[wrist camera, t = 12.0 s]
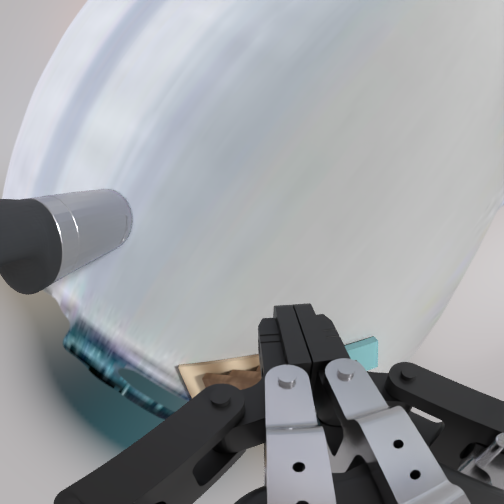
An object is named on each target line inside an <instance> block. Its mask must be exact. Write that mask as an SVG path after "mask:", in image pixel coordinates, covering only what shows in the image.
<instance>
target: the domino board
mask: <svg viewBox="0 0 504 504" xmlns="http://www.w3.org/2000/svg"><path fill="white" fill-rule="evenodd" d="M259 365H260V363H259V354H256V355H250V356H244V357H238V358H231V359H224V360H217V361H209V362H201V363H192V364H183V365H179V367H178V368H179V370H180V373H181V375H182V377H183V380H184V382H185V384H186V386H187V389H188V391H189V393H190V395H191V397H192V398H193V397H195V396H196V395H197V394H198V393H200V392H201V391H202V390H203V389H205V385H204V383H203V380H202V378H203V376H204V375H205V374H206V373H212V374H220V375H229V373H230V372H231V371H232V369H233V370H244V371H256V370H257V368H258V367H259Z"/></svg>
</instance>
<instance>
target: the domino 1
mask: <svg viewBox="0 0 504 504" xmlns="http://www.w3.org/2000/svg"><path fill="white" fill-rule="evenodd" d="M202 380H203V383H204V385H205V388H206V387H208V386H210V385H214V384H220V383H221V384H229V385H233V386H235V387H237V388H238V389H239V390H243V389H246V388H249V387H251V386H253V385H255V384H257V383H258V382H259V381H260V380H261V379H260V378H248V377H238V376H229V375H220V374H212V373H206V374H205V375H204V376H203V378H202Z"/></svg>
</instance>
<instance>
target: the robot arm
mask: <svg viewBox="0 0 504 504" xmlns="http://www.w3.org/2000/svg"><path fill="white" fill-rule="evenodd" d="M131 228H132V214H131V210H130V207H129V205H128V203H127V201H126V200H125V198H124V197H123V196H122V195H121V194H120V193H118V192H116V191H114V190H110V189H101V190H90V191H81V192H72V193H64V194H56V195H49V196H42V197H36V198H30V199H21V200H13V199H0V274H1V276H2V277H3V279H4V280H5V281H6V283H7V284H8V285H9V286H10V287H11V288H13V289H14V290H16V291H17V292H19V293H22V294H34V293H37V292H39V291H41V290H43V289H44V288H46V287H48V286H49V285H51V284H52V283H54V282H56V281H58V280H59V279H61V278H63V277H64V276H66V275H68V274H69V273H71V272H73V271H75V270H77V269H78V268H80V267H82V266H84V265H86V264H87V263H89V262H91V261H93V260H95V259H97V258H98V257H100V256H102V255H104V254H106V253H108V252H110V251H112V250H114V249H116V248H117V247H119V246H121V245H122V244H123V243H124V242H125V241H126V240H127V238H128V236H129V234H130V231H131ZM258 351H259V363H260V370H261V380H260V381H259V382H258V383H257V384H255V385H253V386H251V387H249V388H246V389H243V390H239V389H238V388H237V387H235V386H233V385H229V384H221V383H220V384H214V385H210V386H208V387H206V388H205V389H203V390H202V391H201V392H200V393H198V394H197V395H196V396H195V397H193V398H192V399H191V400H190V401H189V402H187V403H186V404H185V405H184V406H182V407H181V408H180V409H179V410H178V411H176V412H175V413H174V414H172V415H171V416H170V417H168V418H167V419H166V420H165V421H163V422H162V423H161V424H159V425H158V426H157V427H155V428H154V429H153V430H151V431H150V432H149V433H148V434H146V435H145V436H143V437H142V438H141V439H139V440H138V441H137V442H135V443H134V444H132V445H131V446H130V447H128V448H127V449H125V450H124V451H123V452H121V453H120V454H118V455H117V456H116V457H114V458H112V459H111V460H110V461H108V462H107V463H105V464H104V465H102V466H101V467H99V468H98V469H96V470H95V471H93V472H91V473H90V474H88V475H87V476H85V477H84V478H82V479H80V480H79V481H77V482H76V483H74V484H72V485H71V486H69V487H68V488H66V489H64V490H63V491H61V492H60V493H59V494H58V495H57V496H56V498H55V500H54V504H193V503H194V502H195V501H196V500H197V499H198V498H199V497H200V496H201V495H202V494H204V493H205V492H206V491H207V490H208V489H209V488H210V487H211V486H212V485H213V484H214V483H215V482H216V481H217V480H218V479H219V478H220V477H221V476H222V475H223V474H224V473H225V472H226V471H227V470H228V469H229V468H230V467H231V466H232V465H233V464H234V463H235V462H236V461H237V460H238V459H239V458H240V457H241V456H242V455H243V453H244V452H245V451H246V449H248V448H251V447H254V446H257V445H260V444H262V443H264V486H263V487H260V488H258V489H255V490H253V491H251V492H250V493H248V494H246V495H245V496H243V497H242V498H240V499H239V500H238V501H237V502H235V503H234V504H504V401H501V400H499V399H496V398H493V397H491V396H489V395H486V394H483V393H481V392H478V391H476V390H474V389H471V388H469V387H467V386H464V385H462V384H459V383H457V382H454V381H452V380H450V379H448V378H445V377H443V376H441V375H438V374H436V373H434V372H431V371H429V370H427V369H425V368H422V367H420V366H418V365H415V364H413V363H409V362H401V363H397V364H395V365H394V366H392V367H391V369H390V371H389V373H375V372H368V371H366V370H365V368H364V367H363V365H361V364H360V363H359V362H357V361H355V360H352V359H351V358H350V356H349V354H348V352H347V350H346V348H345V346H344V344H343V342H342V340H341V338H340V337H339V334H338V332H337V330H336V328H335V326H334V324H333V322H332V321H331V320H330V319H329V318H328V317H326V316H325V315H324V314H319V315H316V314H315V312H314V310H313V308H312V305H311V304H295V305H280V306H274V314H273V318H263V319H262V320H261V322H260V324H259V326H258ZM314 406H315V408H314ZM412 407H415V408H417V409H419V410H421V411H423V412H425V413H427V414H429V415H432V416H434V417H436V418H438V419H440V420H442V422H439V423H435V422H432V421H430V420H428V419H426V418H424V417H422V416H420V415H417V414H415V413H413V412H411V411H410V410H411V408H412ZM315 409H316V413H315Z"/></svg>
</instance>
